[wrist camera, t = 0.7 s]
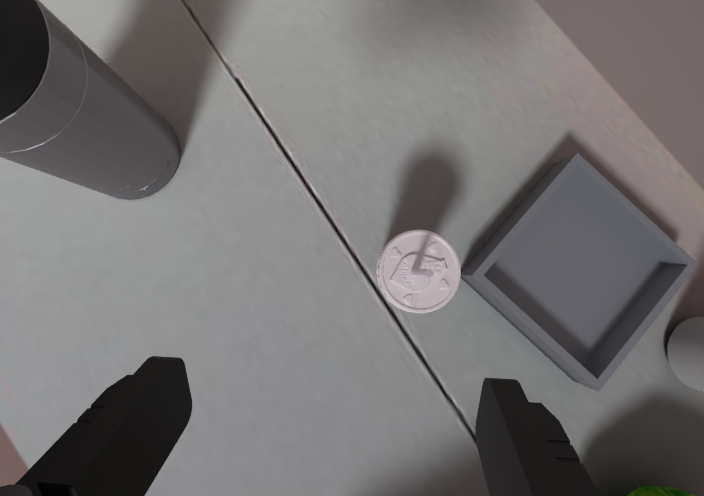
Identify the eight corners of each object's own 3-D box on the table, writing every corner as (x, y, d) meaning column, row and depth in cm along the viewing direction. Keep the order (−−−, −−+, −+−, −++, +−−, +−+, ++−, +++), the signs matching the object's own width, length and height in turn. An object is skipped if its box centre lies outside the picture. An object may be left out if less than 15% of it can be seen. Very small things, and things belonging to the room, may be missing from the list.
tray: (458, 275, 38) (471, 275, 34) (555, 163, 39) (577, 152, 36) (573, 380, 38) (598, 391, 34) (665, 264, 39) (698, 264, 36)
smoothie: (357, 248, 37) (375, 234, 23) (417, 232, 38) (471, 209, 24) (374, 310, 37) (403, 334, 23) (434, 293, 37) (499, 306, 23)
